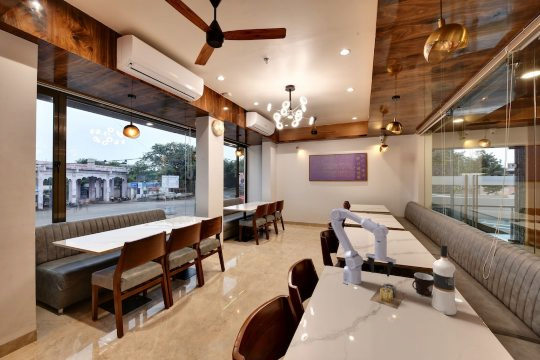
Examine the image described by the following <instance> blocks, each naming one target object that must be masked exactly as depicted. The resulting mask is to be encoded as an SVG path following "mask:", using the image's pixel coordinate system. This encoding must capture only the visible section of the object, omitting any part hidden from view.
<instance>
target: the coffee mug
mask: <svg viewBox="0 0 540 360" xmlns="http://www.w3.org/2000/svg"><path fill="white" fill-rule="evenodd" d="M413 275H414V280H413V282H412V283H411V285H412V288H413V289H414V290H415V292H416V294H417V295H420V296H422V297H427V298H428V297H433V276H432V275H430V274H428V273H424V272H415V273H414V274H413ZM414 285H415V286H414Z"/></svg>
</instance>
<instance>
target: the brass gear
mask: <svg viewBox="0 0 540 360" xmlns="http://www.w3.org/2000/svg"><path fill="white" fill-rule="evenodd" d="M385 290H388V292H386V291H385ZM380 299H381V300H383V301H384V302H388V303H390V302H393V291H392V290H390V289H389V288H380Z"/></svg>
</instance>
